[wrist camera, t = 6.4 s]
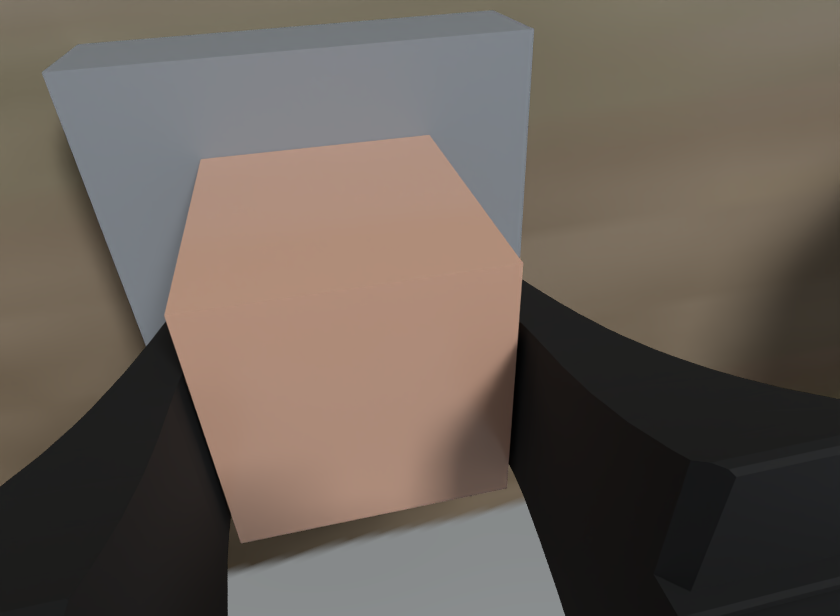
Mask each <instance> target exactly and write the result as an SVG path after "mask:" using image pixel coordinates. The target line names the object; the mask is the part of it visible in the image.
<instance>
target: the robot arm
mask: <svg viewBox="0 0 840 616" xmlns="http://www.w3.org/2000/svg"><path fill="white" fill-rule="evenodd" d="M509 465H510V467H511V469H512V471H513V473H514V475H515V477H516V480H517V482H518V484H519V486H520V489H521V491H522V493H523V496H524V498H525V501H526V504H527V506H528V509H529V512H530V514H531V517H532V520H533V523H534V526H535V528H536V531H537V534H538V537H539V539H540V542H541V545H542V548H543V551H544V554H545V557H546V559H547V562H548V565H549V568H550V571H551V574H552V577H553V580H554V583H555V586H556V588H557V592H558V595H559V598H560V601H561V603H562V607H563V610H564V613H565V616H840V399H836V398H831V397H825V396H820V395H815V394H810V393H805V392H800V391H794V390H789V389H784V388H780V387H776V386H772V385H768V384H764V383H760V382H756V381H752V380H748V379H744V378H740V377H737V376H733V375H730V374H726V373H723V372H719V371H716V370H713V369H709V368H706V367H703V366H700V365H697V364H694V363H691V362H688V361H685V360H683V359H680V358H677V357H674V356H671V355H668V354H666V353H663V352H660V351H658V350H655V349H653V348H650V347H648V346H645V345H643V344H641V343H638V342H636V341H634V340H631V339H629V338H627V337H624V336H622V335H620V334H618V333H616V332H614V331H611V330H609V329H607V328H605V327H603V326H601V325H599V324H597V323H596V322H594V321H592V320H590V319H588V318H586V317H584V316H582V315H580V314H578V313H577V312H575V311H573V310H571V309H570V308H568V307H566V306H564V305H563V304H561V303H559V302H558V301H556V300H554V299H553V298H551V297H549V296H548V295H546V294H544V293H543V292H541V291H540V290H538V289H536V288H535V287H533V286H532V285H530V284H528V283H527V282H525V281H524V280H522V287H521V301H520V314H519V328H518V342H517V355H516V369H515V383H514V396H513V410H512V424H511V438H510V451H509ZM230 519H231V512H230V509H229V506H228V503H227V500H226V497H225V494H224V491H223V488H222V486H221V483H220V480H219V477H218V474H217V471H216V468H215V465H214V462H213V459H212V456H211V453H210V450H209V447H208V444H207V441H206V438H205V435H204V432H203V429H202V426H201V423H200V420H199V417H198V414H197V411H196V408H195V405H194V403H193V400H192V397H191V394H190V391H189V388H188V385H187V382H186V379H185V376H184V373H183V370H182V367H181V364H180V361H179V358H178V355H177V352H176V349H175V346H174V343H173V340H172V337H171V334H170V331H169V328H168V325H167V322H165V323H164V324H163V325H162V327H161V328H160V329H159V331H158V332H157V333H156V334H155V336H154V337H153V338H152V340H151V341H150V342H149V343H148V345H147V346H146V347H145V348H144V350H143V351H142V352H141V353H140V355H139V356H138V357H137V358H136V359H135V361H134V362H133V363H132V364H131V365H130V367H129V368H128V369H127V370H126V371H125V373H124V374H123V375H122V376H121V377H120V378H119V379H118V380H117V381H116V382H115V383H114V385H113V386H112V387H111V388H110V389H109V390H108V391H107V392H106V393H105V394H104V395H103V396H102V398H101V399H100V400H99V401H98V402H97V403H96V404H95V405H94V406H93V407H92V408H91V409H90V410H89V411H88V412H87V413H86V414H85V415H84V416H83V417H82V418H81V419H80V420H79V421H78V422H77V423H76V424H75V425H74V426H73V427H72V428H71V429H69V430H68V431H67V432H66V433H65V434H64V435H63V436H62V437H60V438H59V439H58V440H57V441H56V442H55V443H54V444H53V445H51V446H50V447H49V448H48V449H47V450H46V451H45V452H43V453H42V454H41V455H40V456H39V457H38V458H36V459H35V460H34V461H32V462H31V463H30V464H29V465H27V466H26V467H25V468H23V469H22V470H21V471H20V472H18V473H17V474H16V475H14V476H13V477H12V478H11V479H9V480H8V481H7V482H5V483H4V484H3V485H2V486H0V616H228V609H227V607H228V603H227V601H228V600H227V596H228V594H227V593H228V588H227V587H228V586H227V559H228V541H229V529H230Z"/></svg>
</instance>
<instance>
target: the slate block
mask: <svg viewBox="0 0 840 616" xmlns="http://www.w3.org/2000/svg"><path fill="white" fill-rule="evenodd" d="M533 36H534V29H533V28H531V27H529V26H526V25H524V24H522V23H520V22H518V21H515V20H513V19H511V18H509V17H507V16H505V15H502V14H500V13H498V12H496V11H494V10H491V11H479V12H467V13H454V14H442V15H430V16H418V17H406V18H394V19H381V20H369V21H357V22H345V23H333V24H321V25H308V26H296V27H284V28H272V29H260V30H247V31H235V32H223V33H211V34H199V35H187V36H174V37H162V38H150V39H138V40H126V41H114V42H101V43H89V44H78V45H76V46H75V47H74V48H73V49H71V50H70V51H69V52H67V53H66V54H65V55H64V56H62V57H61V58H60V59H58V60H57V61H56V62H55V63H53V64H52V65H51V66H49V67H48V68H47V69H45V70H44V71H43V72H42V75H43V77H44V80H45V82H46V85H47V88H48V90H49V93H50V95H51V98H52V101H53V103H54V106H55V109H56V111H57V114H58V116H59V119H60V122H61V124H62V127H63V130H64V132H65V135H66V137H67V140H68V143H69V145H70V148H71V151H72V153H73V156H74V158H75V161H76V164H77V166H78V169H79V172H80V174H81V177H82V179H83V182H84V185H85V187H86V190H87V193H88V195H89V198H90V200H91V203H92V206H93V208H94V211H95V213H96V216H97V219H98V221H99V224H100V227H101V229H102V232H103V234H104V237H105V240H106V242H107V245H108V248H109V250H110V253H111V255H112V258H113V261H114V263H115V266H116V269H117V271H118V274H119V276H120V279H121V282H122V284H123V287H124V290H125V292H126V295H127V297H128V300H129V303H130V305H131V308H132V311H133V313H134V316H135V318H136V321H137V324H138V326H139V329H140V331H141V334H142V337H143V339H144V342H145V345H146V346H147V345H148V343H149V342H150V341H151V340H152V338H153V337H154V336H155V334H156V333H157V332H158V331H159V329H160V328H161V327H162V325H163V324H164V323H165V322H166V320H165V317H164V314H165V310H166V306H167V301H168V297H169V293H170V288H171V284H172V280H173V276H174V271H175V267H176V263H177V258H178V254H179V250H180V245H181V241H182V237H183V233H184V228H185V224H186V220H187V215H188V211H189V207H190V203H191V198H192V194H193V190H194V185H195V181H196V177H197V173H198V168H199V164H200V160H201V159H207V158H216V157H226V156H235V155H245V154H254V153H263V152H273V151H282V150H291V149H301V148H310V147H320V146H329V145H338V144H348V143H357V142H367V141H376V140H385V139H395V138H404V137H414V136H423V135H430V136H431V138H432V139H433V141H434V142H435V143H436V145H437V146H438V147H439V149H440V150H441V151H442V153H443V154H444V156H445V157H446V158H447V160H448V161H449V162H450V164H451V165H452V167H453V168H454V169H455V171H456V172H457V173H458V175H459V176H460V178H461V179H462V180H463V182H464V183H465V184H466V186H467V187H468V188H469V190H470V191H471V193H472V194H473V195H474V197H475V198H476V199H477V201H478V202H479V204H480V205H481V206H482V208H483V209H484V210H485V212H486V213H487V214H488V216H489V217H490V219H491V220H492V221H493V223H494V224H495V225H496V227H497V228H498V230H499V231H500V232H501V234H502V235H503V236H504V238H505V239H506V241H507V242H508V243H509V245H510V246H511V247H512V249H513V250H514V251H515V253H516V254H517V256H518V257H519V258H520V249H521V233H522V216H523V200H524V184H525V167H526V151H527V134H528V118H529V102H530V85H531V69H532V53H533Z"/></svg>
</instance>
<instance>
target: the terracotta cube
mask: <svg viewBox="0 0 840 616" xmlns="http://www.w3.org/2000/svg"><path fill="white" fill-rule="evenodd" d="M522 273H523V262H522V261H521V260H520V258H519V257H518V256H517V254H516V253H515V251H514V250H513V249H512V247H511V246H510V245H509V243H508V242H507V241H506V239H505V238H504V236H503V235H502V234H501V232H500V231H499V230H498V228H497V227H496V225H495V224H494V223H493V221H492V220H491V219H490V217H489V216H488V214H487V213H486V212H485V210H484V209H483V208H482V206H481V205H480V204H479V202H478V201H477V199H476V198H475V197H474V195H473V194H472V193H471V191H470V190H469V188H468V187H467V186H466V184H465V183H464V182H463V180H462V179H461V178H460V176H459V175H458V173H457V172H456V171H455V169H454V168H453V167H452V165H451V164H450V162H449V161H448V160H447V158H446V157H445V156H444V154H443V153H442V151H441V150H440V149H439V147H438V146H437V145H436V143H435V142H434V141H433V139H432V138H431V136H430V135H423V136H414V137H404V138H395V139H385V140H376V141H367V142H357V143H348V144H338V145H329V146H320V147H310V148H301V149H291V150H282V151H273V152H263V153H254V154H245V155H235V156H226V157H216V158H207V159H201V160H200V164H199V168H198V173H197V177H196V181H195V185H194V190H193V194H192V198H191V203H190V207H189V211H188V215H187V220H186V224H185V228H184V233H183V237H182V241H181V245H180V250H179V254H178V258H177V263H176V267H175V271H174V276H173V280H172V284H171V288H170V293H169V297H168V301H167V306H166V310H165V314H164V317H165V320H166V322H167V325H168V328H169V331H170V334H171V337H172V340H173V343H174V346H175V349H176V352H177V355H178V358H179V361H180V364H181V367H182V370H183V373H184V376H185V379H186V382H187V385H188V388H189V391H190V394H191V397H192V400H193V403H194V405H195V408H196V411H197V414H198V417H199V420H200V423H201V426H202V429H203V432H204V435H205V438H206V441H207V444H208V447H209V450H210V453H211V456H212V459H213V462H214V465H215V468H216V471H217V474H218V477H219V480H220V483H221V486H222V488H223V491H224V494H225V497H226V500H227V503H228V506H229V509H230V512H231V515H232V518H233V521H234V524H235V527H236V530H237V533H238V536H239V539H240V542H241V543H245V542H250V541H255V540H260V539H265V538H269V537H274V536H279V535H284V534H289V533H294V532H298V531H303V530H308V529H313V528H318V527H323V526H327V525H332V524H337V523H342V522H347V521H352V520H356V519H361V518H366V517H371V516H376V515H380V514H385V513H390V512H395V511H400V510H405V509H409V508H414V507H419V506H424V505H429V504H434V503H438V502H443V501H448V500H453V499H458V498H463V497H467V496H472V495H477V494H482V493H487V492H491V491H496V490H501V489H506V488H507V479H508V465H509V451H510V438H511V424H512V410H513V396H514V383H515V369H516V355H517V342H518V328H519V314H520V301H521V287H522Z"/></svg>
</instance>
